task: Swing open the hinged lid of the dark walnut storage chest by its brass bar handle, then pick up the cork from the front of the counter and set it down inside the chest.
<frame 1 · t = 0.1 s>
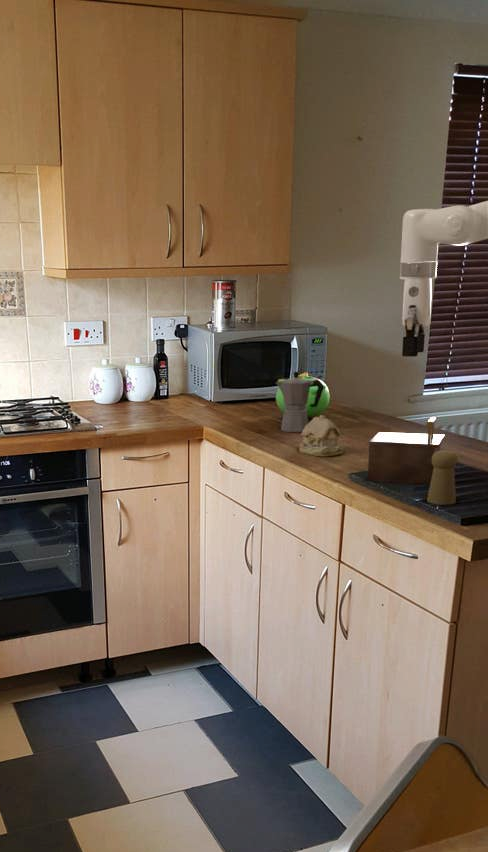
hand: (413, 354, 192), 29 cm above the countertop, tool pointing down, fingers open, 9 cm apart
chest: (403, 478, 208), on the countertop
coffeepot: (298, 430, 275), on the countertop
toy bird: (302, 418, 297), on the countertop
lid: (408, 430, 204), point 12 cm above the countertop, hinge at 0.0°
cork: (441, 503, 186), on the countertop
onion: (379, 465, 223), on the countertop
ceramic model: (321, 452, 241), on the countertop
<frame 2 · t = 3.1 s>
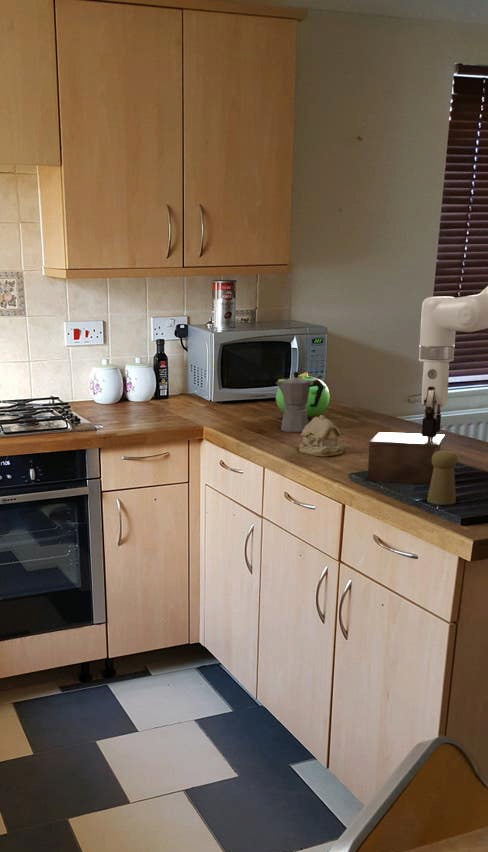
hand: (430, 433, 202), 11 cm above the countertop, tool pointing down, fingers closed on lid, 6 cm apart
lid: (408, 430, 204), point 12 cm above the countertop, hinge at 0.0°, touching gripper
everything else where it was.
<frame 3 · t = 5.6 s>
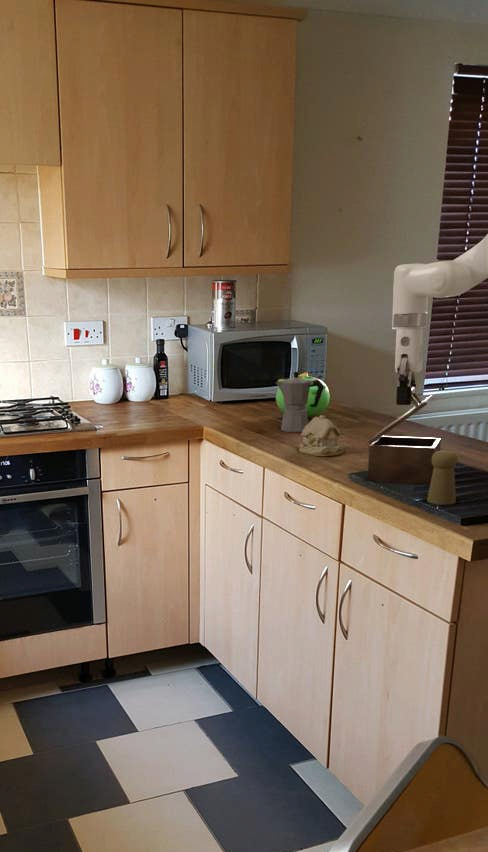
hand: (405, 401, 202), 18 cm above the countertop, tool pointing down, fingers closed on lid, 6 cm apart
lid: (395, 411, 204), point 16 cm above the countertop, hinge at 38.3°, touching gripper
everything else where it was.
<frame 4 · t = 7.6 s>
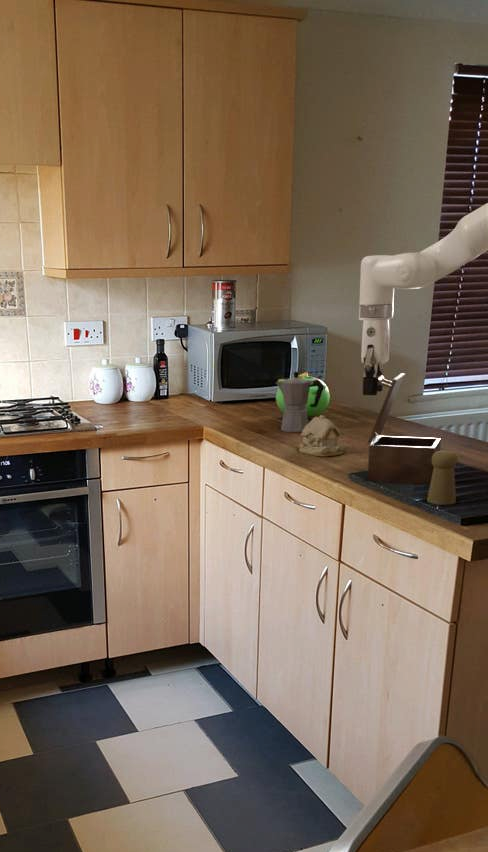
hand: (372, 392, 204), 20 cm above the countertop, tool pointing down, fingers closed on lid, 6 cm apart
lid: (377, 404, 205), point 17 cm above the countertop, hinge at 70.9°, touching gripper
everything else where it was.
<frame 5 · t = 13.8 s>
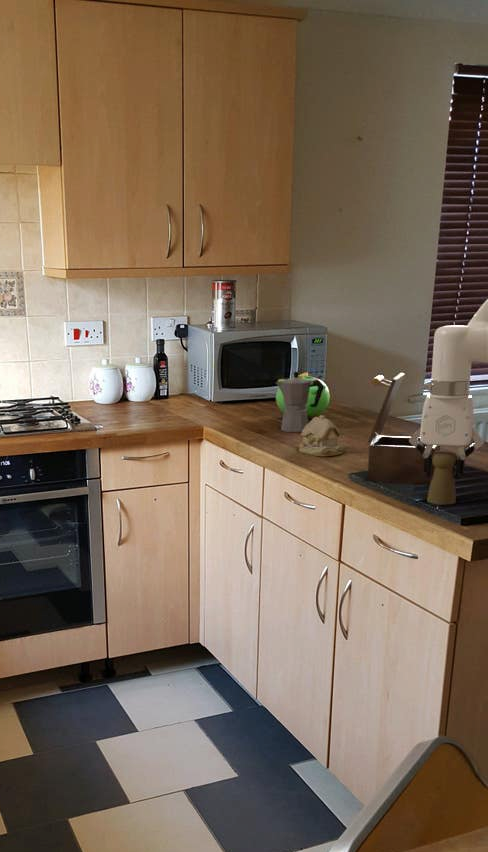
hand: (443, 475, 184), 6 cm above the countertop, tool pointing down, fingers closed on cork, 5 cm apart
lid: (377, 404, 205), point 17 cm above the countertop, hinge at 71.3°
cork: (441, 503, 186), on the countertop, touching gripper
everything else where it was.
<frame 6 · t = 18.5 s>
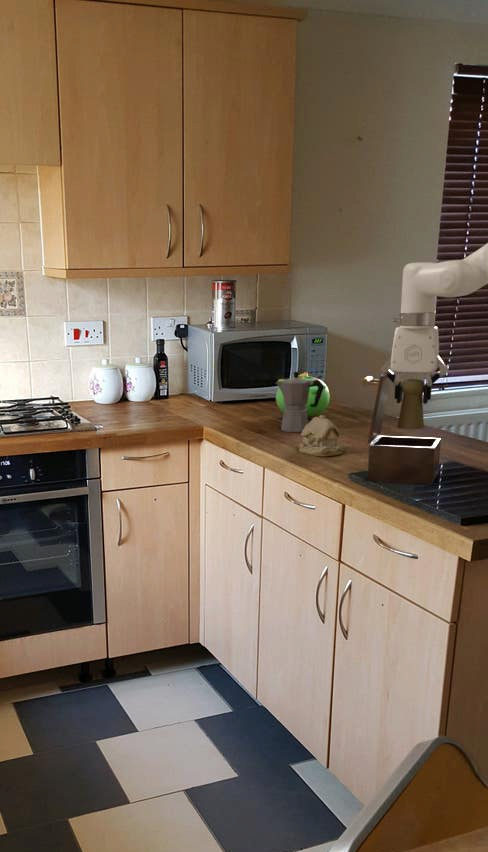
hand: (412, 401, 202), 18 cm above the countertop, tool pointing down, fingers closed on cork, 5 cm apart
lid: (370, 404, 205), point 17 cm above the countertop, hinge at 82.1°
cork: (410, 428, 204), point 12 cm above the countertop, touching gripper
everything else where it was.
when the fingers open (7 cm above the countertop, at t = 21.5 s): cork stays where it is, resting on chest.
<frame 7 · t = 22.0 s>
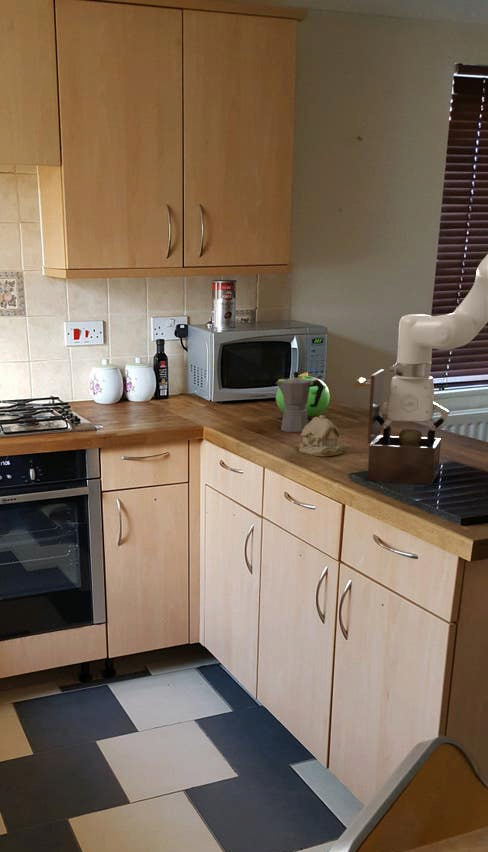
hand: (408, 445, 205), 8 cm above the countertop, tool pointing down, fingers open, 9 cm apart
lid: (366, 405, 206), point 17 cm above the countertop, hinge at 89.6°
cork: (407, 476, 207), point 1 cm above the countertop, touching chest
everything else where it was.
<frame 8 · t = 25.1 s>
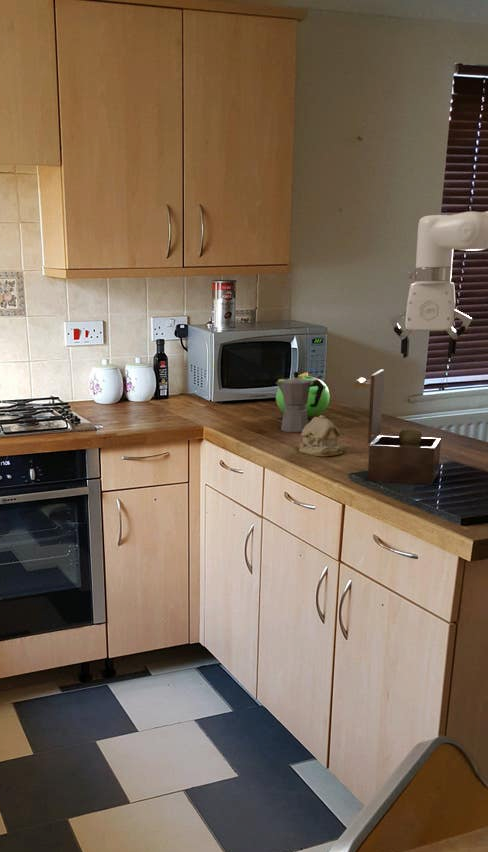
hand: (427, 357, 195), 28 cm above the countertop, tool pointing down, fingers open, 9 cm apart
nothing on the countertop moved.
at the end: lid at +90° (first picture: +0°); cork inside the target area in the chest (1.0 cm from its centre), point 0.6 cm above the chest's base; cork tilted 0° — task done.
